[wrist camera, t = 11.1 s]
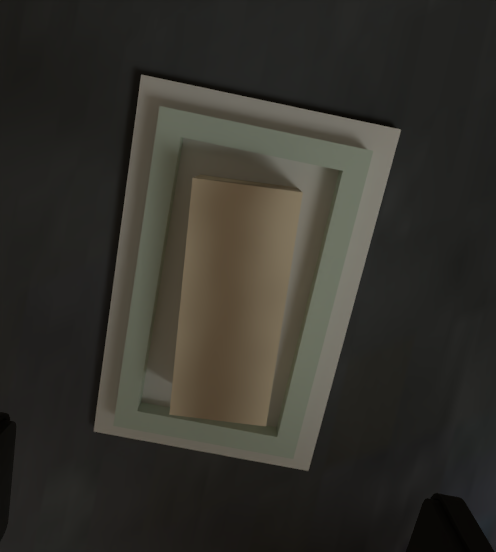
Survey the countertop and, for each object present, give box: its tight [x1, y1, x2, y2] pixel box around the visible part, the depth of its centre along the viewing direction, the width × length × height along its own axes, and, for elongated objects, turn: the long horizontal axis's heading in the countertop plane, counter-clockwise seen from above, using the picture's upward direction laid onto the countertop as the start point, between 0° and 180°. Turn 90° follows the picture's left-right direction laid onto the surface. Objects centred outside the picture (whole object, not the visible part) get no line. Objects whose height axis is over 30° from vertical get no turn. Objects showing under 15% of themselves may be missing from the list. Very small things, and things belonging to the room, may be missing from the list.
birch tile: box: [169, 175, 303, 426], centre depth 24 cm, size 5×12×3 cm, turn 173°
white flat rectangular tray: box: [94, 75, 401, 471], centre depth 26 cm, size 20×13×2 cm, turn 169°
